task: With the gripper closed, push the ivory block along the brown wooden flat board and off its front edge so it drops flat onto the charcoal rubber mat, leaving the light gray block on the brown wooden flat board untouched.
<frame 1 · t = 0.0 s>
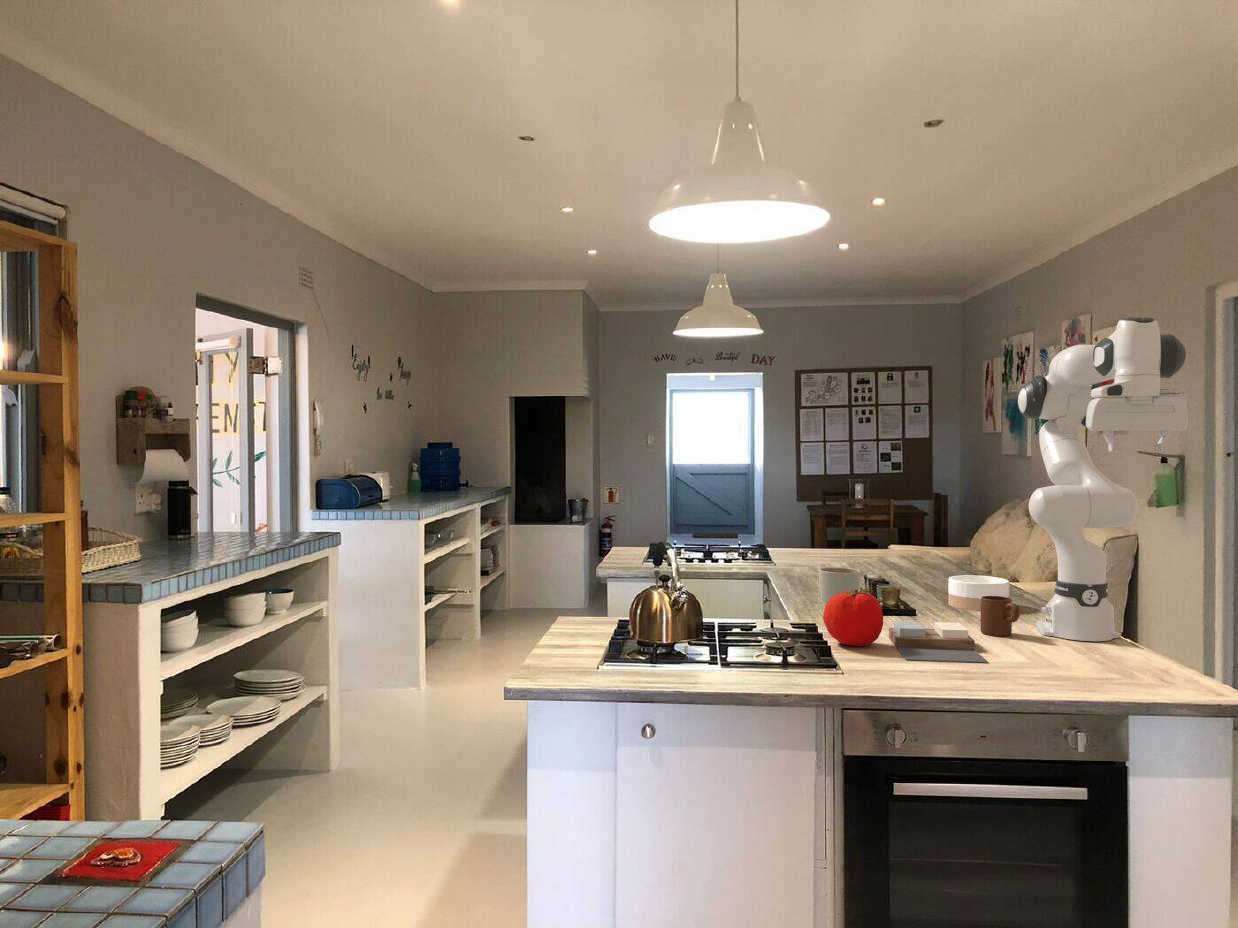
hand: (1135, 451, 198), 48 cm above the worktop, fingers open, 8 cm apart
bowl: (978, 607, 273), on the worktop
tomato: (850, 645, 220), on the worktop
planter: (839, 605, 273), on the worktop
mat: (941, 655, 209), on the worktop
brown wooden flat board: (930, 643, 221), on the worktop
mug: (1001, 636, 231), on the worktop
ivory block: (950, 634, 220), point 2 cm above the worktop, touching brown wooden flat board
light gray block: (909, 632, 222), point 2 cm above the worktop, touching brown wooden flat board
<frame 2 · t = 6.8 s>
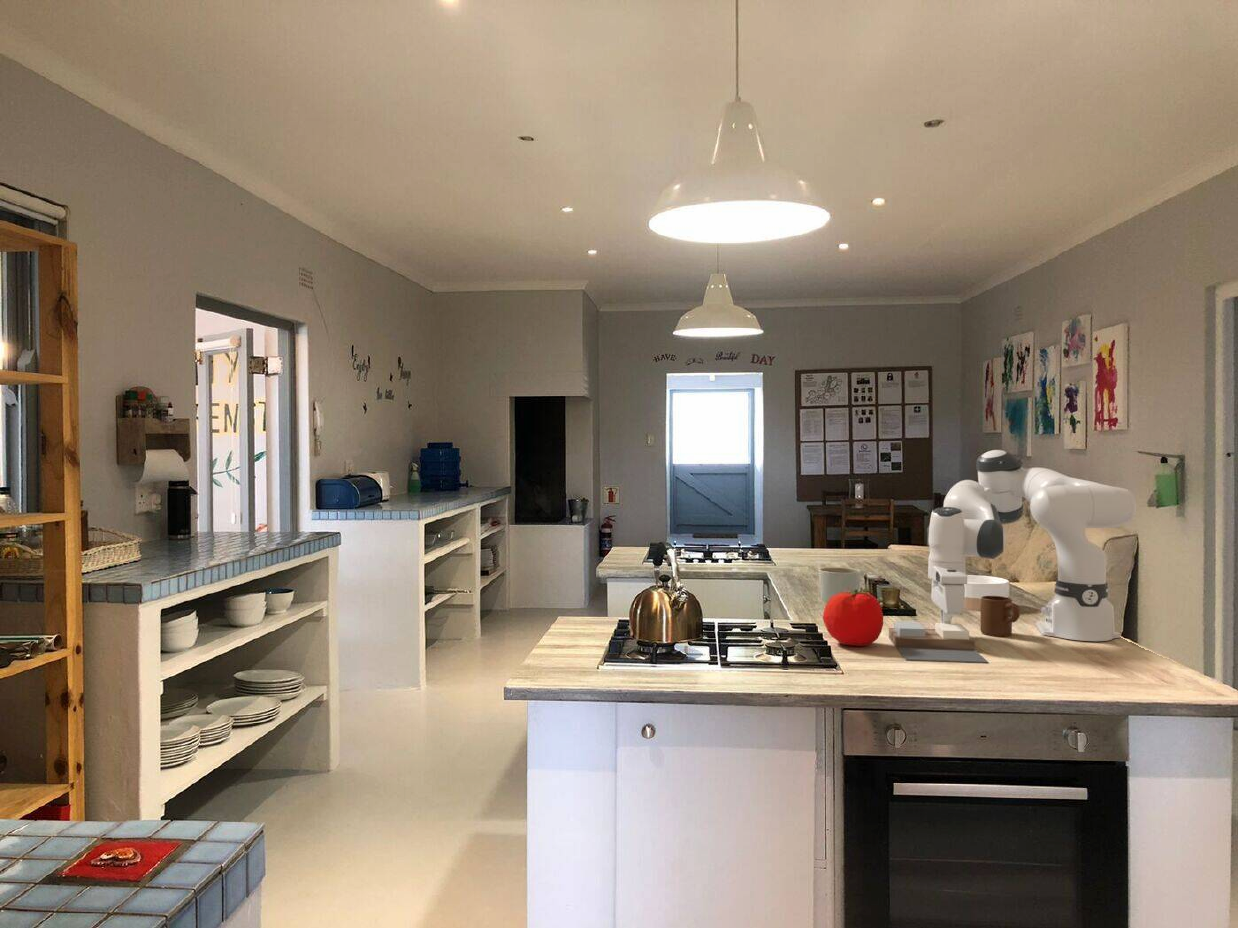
hand: (946, 626, 225), 3 cm above the worktop, fingers closed
ivory block: (951, 635, 219), point 2 cm above the worktop, touching brown wooden flat board, gripper
everything else where it was.
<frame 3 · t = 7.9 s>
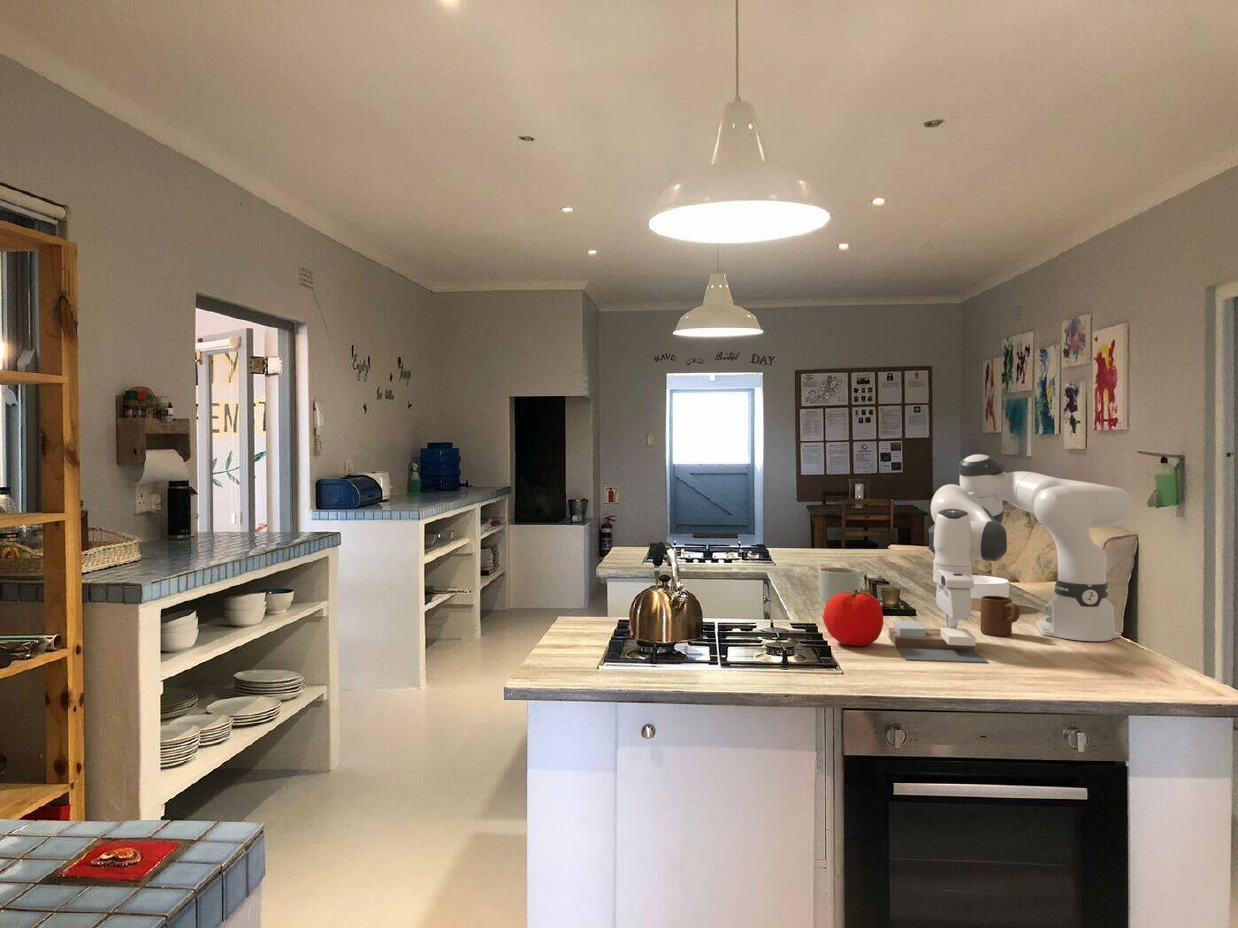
hand: (951, 631, 219), 3 cm above the worktop, fingers closed
ivory block: (957, 640, 213), point 3 cm above the worktop
everything else where it was.
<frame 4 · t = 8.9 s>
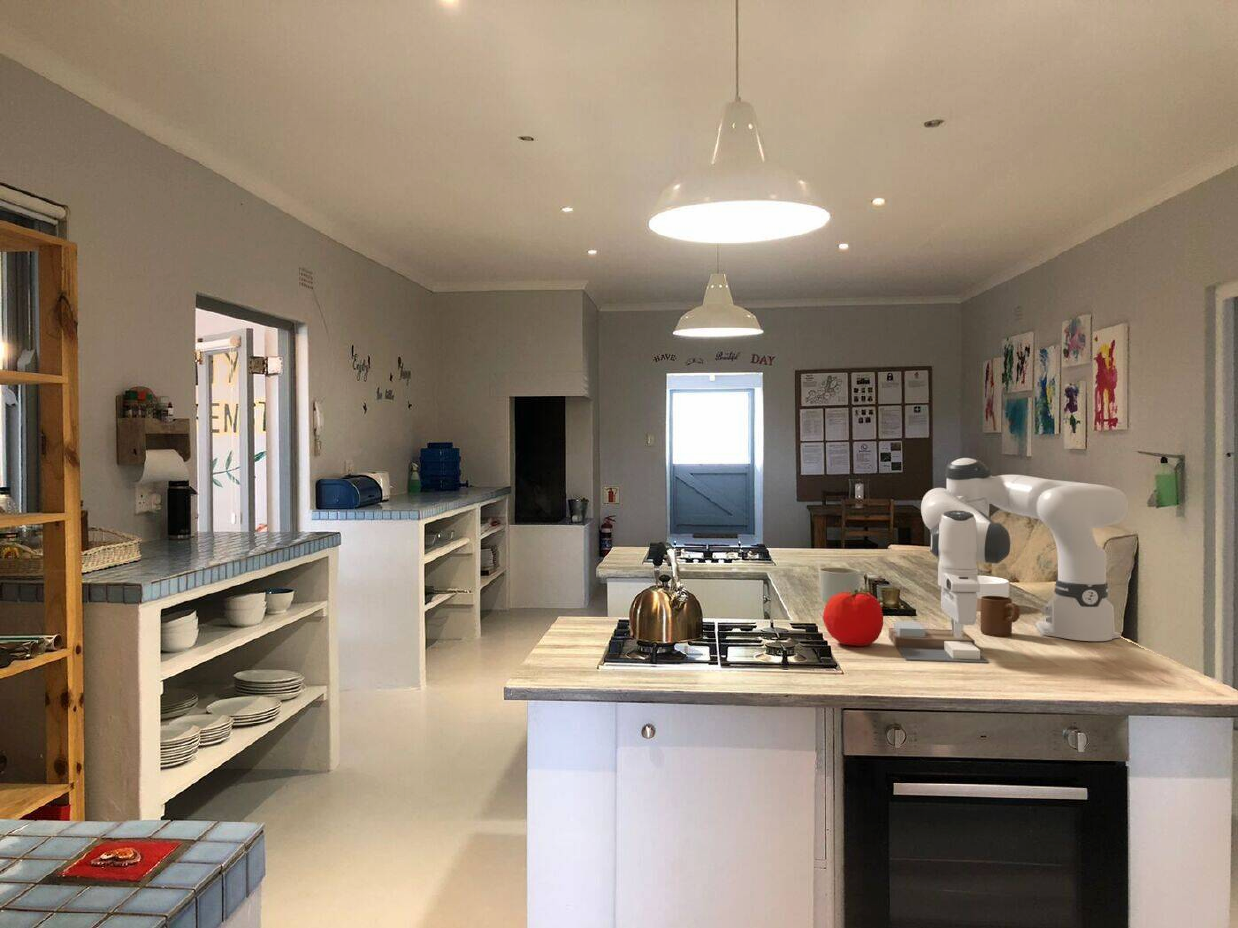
hand: (956, 636, 214), 3 cm above the worktop, fingers closed
ivory block: (961, 654, 209), resting on mat
everything else where it was.
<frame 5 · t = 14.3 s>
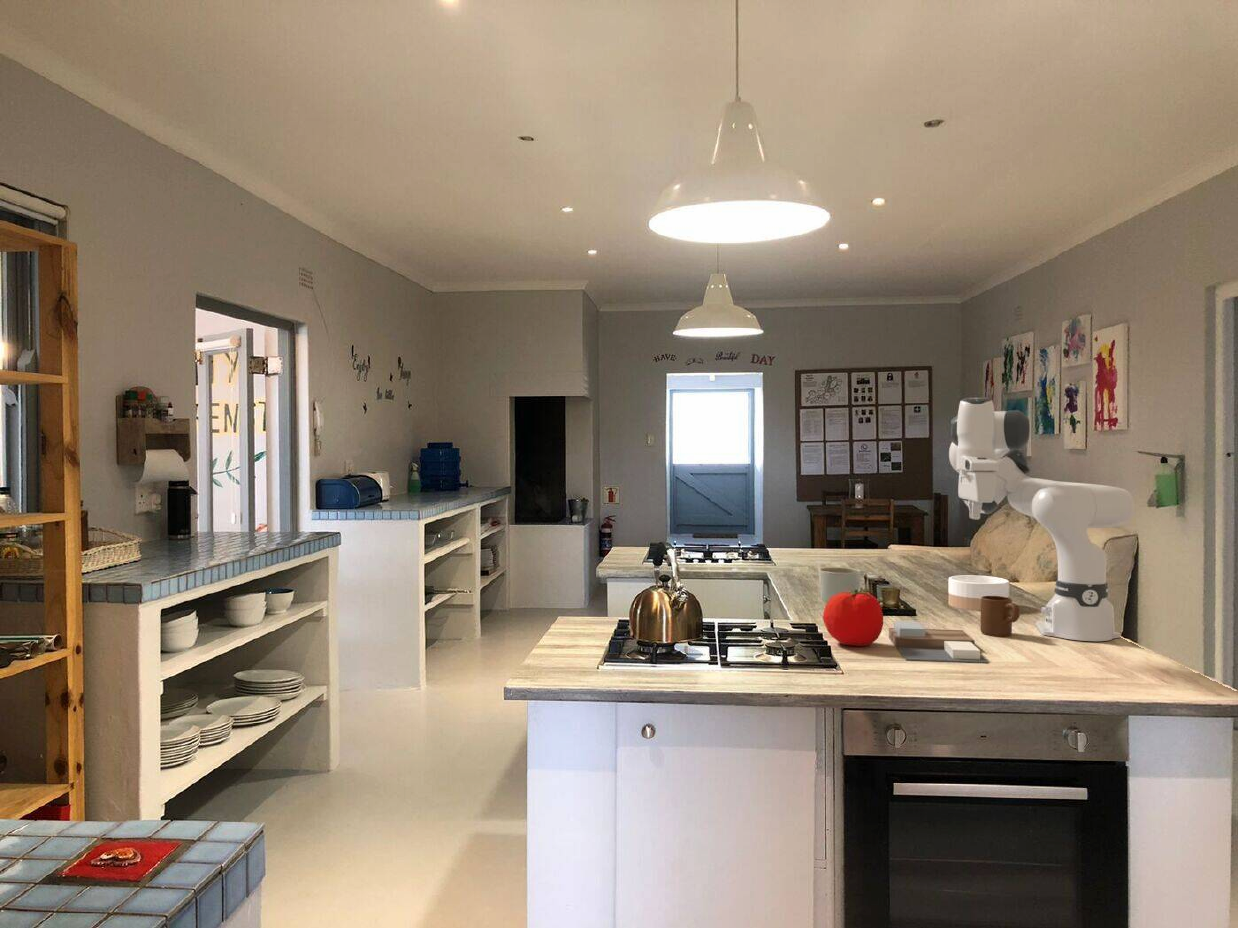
hand: (974, 519, 219), 31 cm above the worktop, fingers closed
nothing on the worktop moved.
at the end: ivory block resting on mat; ivory block inside the target area on the mat (5.0 cm from its centre), point 0.3 cm above the mat's base; ivory block tilted 0° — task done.
